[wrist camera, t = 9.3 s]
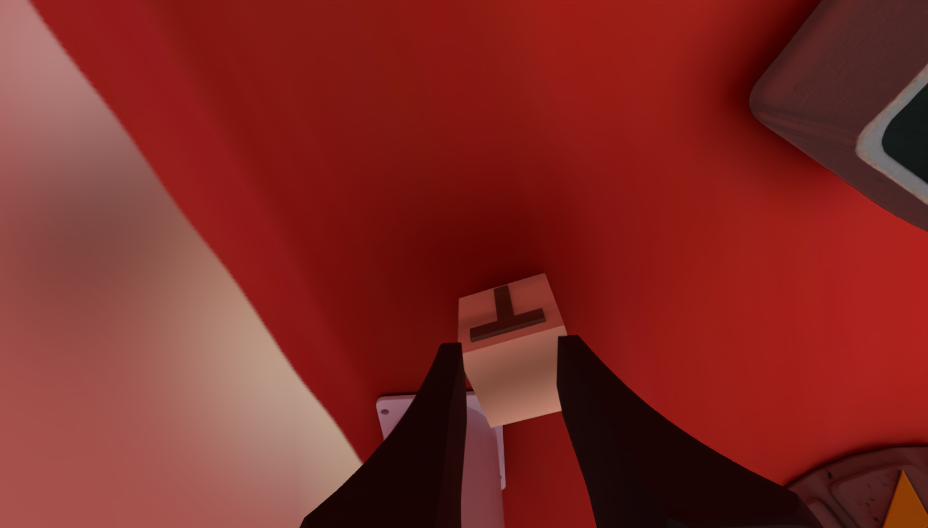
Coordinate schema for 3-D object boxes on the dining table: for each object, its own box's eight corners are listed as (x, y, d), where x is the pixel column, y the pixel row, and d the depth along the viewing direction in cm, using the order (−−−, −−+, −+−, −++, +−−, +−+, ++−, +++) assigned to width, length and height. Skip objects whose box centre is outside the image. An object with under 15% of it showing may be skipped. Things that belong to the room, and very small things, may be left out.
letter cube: (565, 341, 24) (587, 403, 20) (486, 362, 25) (490, 427, 21) (543, 268, 22) (562, 320, 18) (457, 294, 23) (455, 350, 19)
